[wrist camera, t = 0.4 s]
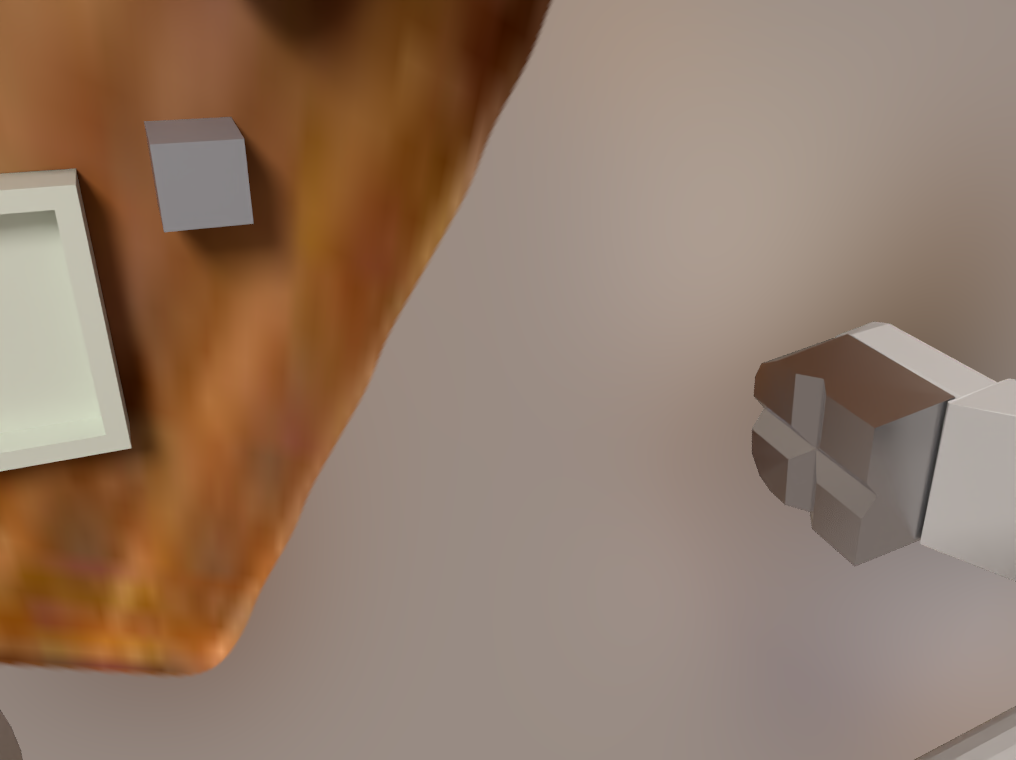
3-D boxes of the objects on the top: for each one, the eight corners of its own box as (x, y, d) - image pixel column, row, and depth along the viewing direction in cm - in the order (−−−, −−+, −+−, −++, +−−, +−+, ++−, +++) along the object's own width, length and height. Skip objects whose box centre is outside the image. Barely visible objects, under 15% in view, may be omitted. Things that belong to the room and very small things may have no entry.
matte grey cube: (143, 121, 46) (149, 144, 42) (230, 116, 48) (244, 138, 44) (157, 202, 49) (164, 232, 45) (240, 195, 50) (253, 223, 46)
